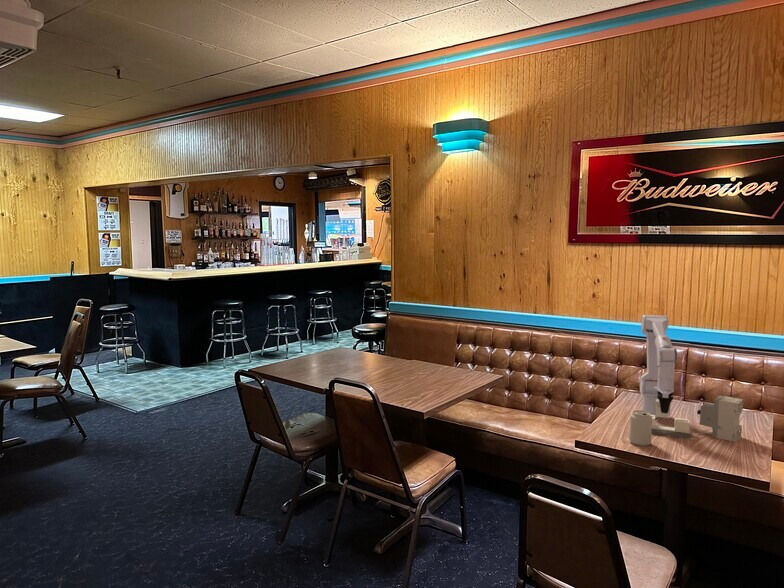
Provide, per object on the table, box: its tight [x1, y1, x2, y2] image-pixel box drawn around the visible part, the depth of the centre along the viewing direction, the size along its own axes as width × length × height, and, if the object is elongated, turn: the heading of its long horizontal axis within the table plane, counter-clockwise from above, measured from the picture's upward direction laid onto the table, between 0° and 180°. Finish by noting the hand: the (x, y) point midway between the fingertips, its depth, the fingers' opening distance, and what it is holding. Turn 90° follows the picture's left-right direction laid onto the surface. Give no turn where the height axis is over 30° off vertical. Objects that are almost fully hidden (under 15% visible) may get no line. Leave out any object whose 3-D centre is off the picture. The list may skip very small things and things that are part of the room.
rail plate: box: [650, 415, 692, 440], centre depth 210 cm, size 18×9×6 cm, turn 63°
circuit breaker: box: [696, 395, 744, 443], centre depth 206 cm, size 8×14×15 cm, turn 45°
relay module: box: [656, 399, 671, 419], centre depth 210 cm, size 5×4×6 cm
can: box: [629, 409, 653, 447], centre depth 198 cm, size 8×8×12 cm
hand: (664, 411), depth 210 cm, fingers closed on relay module, 4 cm apart
